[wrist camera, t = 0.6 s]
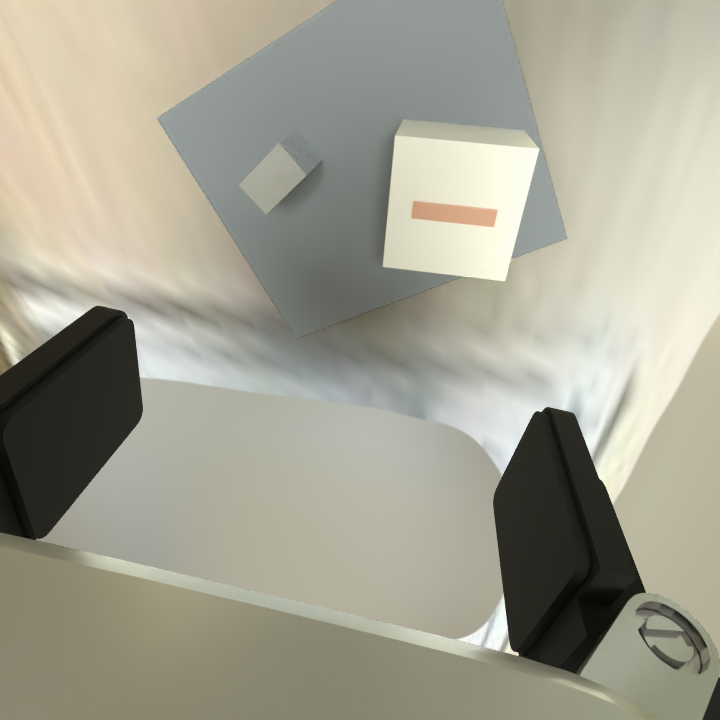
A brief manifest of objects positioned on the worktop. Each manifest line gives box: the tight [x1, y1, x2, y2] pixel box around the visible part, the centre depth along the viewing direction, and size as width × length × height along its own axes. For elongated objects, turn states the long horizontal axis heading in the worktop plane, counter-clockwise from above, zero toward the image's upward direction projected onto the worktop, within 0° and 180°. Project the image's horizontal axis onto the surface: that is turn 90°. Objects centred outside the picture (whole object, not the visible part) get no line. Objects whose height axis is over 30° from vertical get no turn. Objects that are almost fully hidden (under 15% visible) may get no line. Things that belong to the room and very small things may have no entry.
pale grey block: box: [239, 130, 322, 214], centre depth 26 cm, size 3×2×4 cm, turn 132°
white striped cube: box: [383, 119, 539, 281], centre depth 25 cm, size 6×6×5 cm
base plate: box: [157, 0, 567, 338], centre depth 28 cm, size 19×16×2 cm
